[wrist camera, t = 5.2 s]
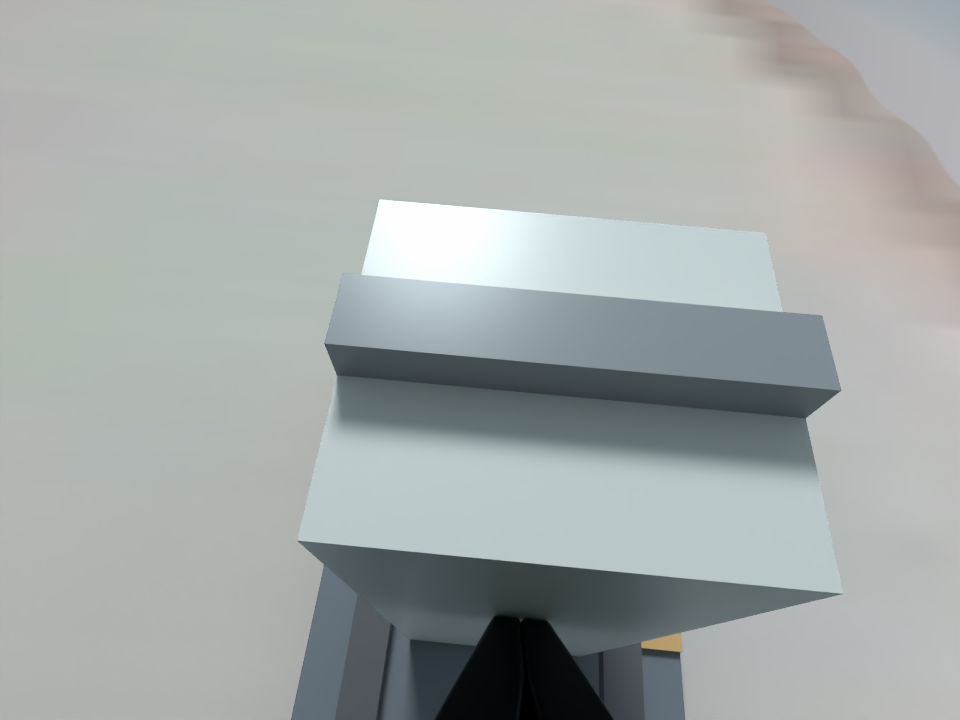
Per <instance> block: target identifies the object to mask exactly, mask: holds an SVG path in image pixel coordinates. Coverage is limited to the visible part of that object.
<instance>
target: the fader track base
mask: <svg viewBox="0 0 960 720" xmlns="http://www.w3.org/2000/svg"><path fill="white" fill-rule="evenodd" d="M475 647H476V646H471V645H461V644H451V643H441V642H431V641H421V640H411V639H408V638H407V637H406V636H405V635H404V634H403V633H401V632H400V631H399V630H398V629H397V628H396V627H395V626H394V625H392V624H391V623H390V622H389V621H388V620H387V619H386V618H384V617H383V616H382V615H381V614H380V613H379V612H378V611H376V610H375V609H374V608H373V607H372V606H371V605H370V604H369V603H367V602H366V601H365V600H364V599H363V598H362V597H361V596H359V595H358V594H357V593H356V592H355V591H354V590H353V589H351V588H350V587H349V586H348V585H347V584H346V583H345V582H344V581H342V580H341V579H340V578H339V577H338V576H337V575H336V574H334V573H333V572H332V571H331V570H330V569H329V568H328V567H326V566H325V565H324V569H323V573H322V578H321V583H320V587H319V592H318V597H317V601H316V606H315V611H314V615H313V620H312V625H311V629H310V634H309V639H308V643H307V648H306V652H305V657H304V662H303V666H302V671H301V676H300V680H299V685H298V690H297V694H296V699H295V704H294V708H293V713H292V718H291V720H433V719H434V717H435V715H436V714H437V712H438V710H439V709H440V707H441V705H442V703H443V702H444V700H445V698H446V697H447V695H448V693H449V691H450V690H451V688H452V686H453V685H454V683H455V681H456V679H457V678H458V676H459V674H460V672H461V671H462V669H463V667H464V666H465V664H466V662H467V660H468V659H469V657H470V655H471V654H472V652H473V650H474V648H475ZM680 652H682V643H681V633H677V634H673V635H669V636H665V637H660V638H656V639H652V640H648V641H644V642H639V643H635V644H631V645H627V646H623V647H618V648H614V649H610V650H606V651H602V652H598V653H593V654H589V655H585V656H581V657H580V656H572V657H573V658H574V660H575V661H576V663H577V664H578V666H579V667H580V669H581V670H582V672H583V673H584V675H585V676H586V678H587V679H588V680H589V682H590V683H591V685H592V686H593V688H594V689H595V691H596V692H597V694H598V695H599V697H600V698H601V700H602V701H603V703H604V704H605V706H606V707H607V709H608V710H609V711H610V713H611V714H612V716H613V717H614V719H615V720H685V714H684V701H683V688H682V675H681V663H680Z"/></svg>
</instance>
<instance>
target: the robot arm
mask: <svg viewBox="0 0 960 720" xmlns="http://www.w3.org/2000/svg"><path fill="white" fill-rule="evenodd" d="M433 720H615V719H614V717H613V716H612V714H611V713H610V711H609V710H608V709H607V707H606V706H605V704H604V703H603V701H602V700H601V698H600V697H599V695H598V694H597V692H596V691H595V689H594V688H593V686H592V685H591V683H590V682H589V680H588V679H587V678H586V676H585V675H584V673H583V672H582V670H581V669H580V667H579V666H578V664H577V663H576V661H575V660H574V658H573V657H572V655H571V654H570V652H569V651H568V649H567V648H566V646H565V645H564V644H563V642H562V641H561V639H560V638H559V636H558V635H557V633H556V632H555V630H554V629H553V627H552V626H551V624H550V623H549V622H548V621H545V620H538V619H527V618H524V619H523V620H522V621H521V622H520V620H519V619H518V618H516V617H507V616H494V617H493V618H492V619H491V621H490V623H489V624H488V626H487V628H486V629H485V631H484V633H483V635H482V636H481V638H480V640H479V641H478V643H477V645H476V647H475V648H474V650H473V652H472V654H471V655H470V657H469V659H468V660H467V662H466V664H465V666H464V667H463V669H462V671H461V672H460V674H459V676H458V678H457V679H456V681H455V683H454V685H453V686H452V688H451V690H450V691H449V693H448V695H447V697H446V698H445V700H444V702H443V703H442V705H441V707H440V709H439V710H438V712H437V714H436V715H435V717H434V719H433Z"/></svg>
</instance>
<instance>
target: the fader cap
mask: <svg viewBox="0 0 960 720" xmlns="http://www.w3.org/2000/svg"><path fill="white" fill-rule="evenodd" d="M324 344H325V346H326V349H327V351H328V354H329V356H330V359H331V361H332V364H333V366H334V369H335V371H336V374H337V377H336V381H335V386H334V390H333V394H332V398H331V402H330V406H329V410H328V414H327V418H326V423H325V427H324V431H323V435H322V439H321V443H320V447H319V451H318V455H317V460H316V464H315V468H314V472H313V476H312V480H311V484H310V488H309V492H308V497H307V501H306V505H305V509H304V513H303V517H302V521H301V525H300V529H299V534H298V538H297V541H298V542H299V543H300V544H301V545H303V546H304V547H305V548H306V549H307V550H308V551H309V552H311V553H312V554H313V555H314V556H315V557H316V558H317V559H319V560H320V561H321V562H322V563H323V564H324V565H325V566H326V567H328V568H329V569H330V570H331V571H332V572H333V573H334V574H336V575H337V576H338V577H339V578H340V579H341V580H342V581H344V582H345V583H346V584H347V585H348V586H349V587H350V588H351V589H353V590H354V591H355V592H356V593H357V594H358V595H359V596H361V597H362V598H363V599H364V600H365V601H366V602H367V603H369V604H370V605H371V606H372V607H373V608H374V609H375V610H376V611H378V612H379V613H380V614H381V615H382V616H383V617H384V618H386V619H387V620H388V621H389V622H390V623H391V624H392V625H394V626H395V627H396V628H397V629H398V630H399V631H400V632H401V633H403V634H404V635H405V636H406V637H407V638H408V639H411V640H421V641H431V642H441V643H451V644H461V645H471V646H476V645H477V643H478V641H479V640H480V638H481V636H482V635H483V633H484V631H485V629H486V628H487V626H488V624H489V623H490V621H491V619H492V618H493V617H494V616H507V617H516V618H518V619H519V620H520V622H521V621H522V620H523V619H524V618H527V619H538V620H545V621H548V622H549V623H550V624H551V626H552V627H553V629H554V630H555V632H556V633H557V635H558V636H559V638H560V639H561V641H562V642H563V644H564V645H565V646H566V648H567V649H568V651H569V652H570V654H571V655H572V656H580V657H581V656H585V655H589V654H593V653H598V652H602V651H606V650H610V649H614V648H618V647H623V646H627V645H631V644H635V643H639V642H644V641H648V640H652V639H656V638H660V637H665V636H669V635H673V634H677V633H681V632H685V631H690V630H694V629H698V628H702V627H706V626H711V625H715V624H719V623H723V622H727V621H732V620H736V619H740V618H744V617H748V616H752V615H757V614H761V613H765V612H769V611H773V610H778V609H782V608H786V607H790V606H794V605H799V604H803V603H807V602H811V601H815V600H819V599H824V598H828V597H832V596H836V595H840V594H843V590H842V585H841V581H840V576H839V571H838V567H837V562H836V557H835V553H834V548H833V544H832V539H831V534H830V530H829V525H828V520H827V516H826V511H825V506H824V502H823V497H822V492H821V488H820V483H819V479H818V474H817V469H816V465H815V460H814V455H813V451H812V446H811V441H810V437H809V432H808V428H807V423H806V417H808V416H809V415H810V414H812V413H813V412H814V411H815V410H817V409H818V408H819V407H821V406H822V405H823V404H824V403H826V402H827V401H828V400H830V399H831V398H832V397H833V396H835V395H836V394H837V393H839V392H840V391H841V387H840V383H839V380H838V376H837V372H836V368H835V364H834V360H833V356H832V352H831V348H830V344H829V341H828V337H827V333H826V329H825V325H824V321H823V317H822V316H821V315H810V314H798V313H787V312H782V307H781V302H780V298H779V293H778V288H777V284H776V279H775V274H774V270H773V265H772V260H771V256H770V251H769V247H768V242H767V237H766V233H762V232H751V231H739V230H727V229H716V228H704V227H693V226H681V225H669V224H658V223H646V222H634V221H623V220H611V219H599V218H588V217H576V216H564V215H553V214H541V213H530V212H518V211H506V210H495V209H483V208H471V207H460V206H448V205H436V204H425V203H413V202H402V201H390V200H380V201H379V205H378V209H377V213H376V217H375V221H374V225H373V229H372V233H371V238H370V242H369V246H368V250H367V254H366V258H365V262H364V266H363V270H362V275H358V274H346V273H343V275H342V279H341V282H340V286H339V290H338V294H337V297H336V301H335V305H334V309H333V313H332V316H331V320H330V324H329V328H328V332H327V335H326V339H325V343H324Z"/></svg>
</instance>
